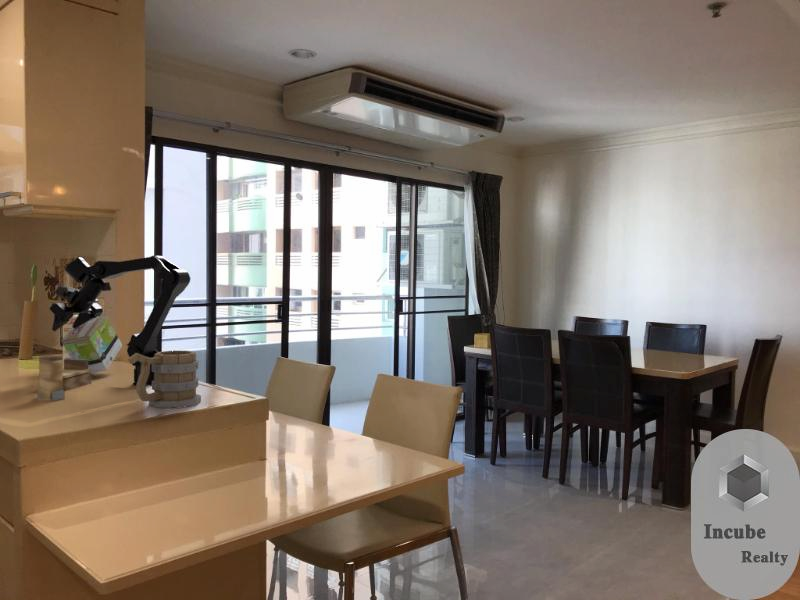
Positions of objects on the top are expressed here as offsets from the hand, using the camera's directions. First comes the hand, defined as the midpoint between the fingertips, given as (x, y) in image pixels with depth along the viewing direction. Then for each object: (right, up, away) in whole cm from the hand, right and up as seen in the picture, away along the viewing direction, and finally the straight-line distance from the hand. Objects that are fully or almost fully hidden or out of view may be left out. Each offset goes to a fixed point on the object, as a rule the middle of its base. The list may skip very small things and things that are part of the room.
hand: (63, 329), depth 213 cm
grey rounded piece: (+15, -18, -35) cm, 43 cm away
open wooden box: (+10, -17, -17) cm, 26 cm away
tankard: (+46, -19, -38) cm, 63 cm away
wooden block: (+15, -17, -35) cm, 42 cm away
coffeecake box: (-5, -16, +24) cm, 29 cm away
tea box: (+7, -12, +12) cm, 18 cm away
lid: (+10, -13, -17) cm, 24 cm away
